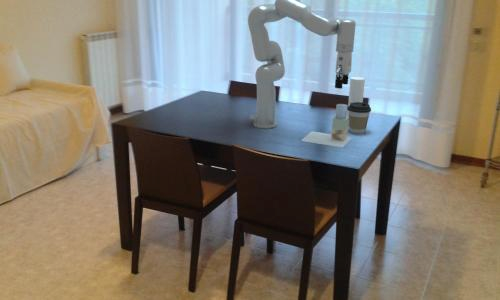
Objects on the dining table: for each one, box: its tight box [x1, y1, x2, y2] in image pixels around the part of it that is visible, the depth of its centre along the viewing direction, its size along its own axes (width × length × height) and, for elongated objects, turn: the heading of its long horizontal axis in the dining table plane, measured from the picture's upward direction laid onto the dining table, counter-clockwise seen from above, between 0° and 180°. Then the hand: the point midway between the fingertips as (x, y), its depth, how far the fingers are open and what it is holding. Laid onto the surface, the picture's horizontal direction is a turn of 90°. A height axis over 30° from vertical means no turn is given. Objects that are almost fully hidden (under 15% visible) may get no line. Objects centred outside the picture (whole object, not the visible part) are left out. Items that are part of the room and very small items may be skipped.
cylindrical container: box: [347, 76, 366, 128], centre depth 248 cm, size 7×7×25 cm
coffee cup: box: [347, 102, 372, 134], centre depth 237 cm, size 11×11×15 cm
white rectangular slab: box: [300, 130, 352, 148], centre depth 227 cm, size 20×16×2 cm
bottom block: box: [331, 127, 349, 141], centre depth 228 cm, size 6×6×5 cm
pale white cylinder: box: [335, 103, 348, 119], centre depth 224 cm, size 5×5×6 cm
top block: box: [331, 115, 349, 131], centre depth 226 cm, size 6×6×5 cm
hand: (341, 86), depth 221 cm, fingers open, 9 cm apart
